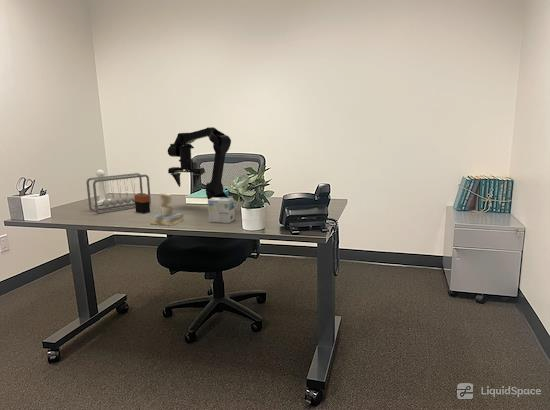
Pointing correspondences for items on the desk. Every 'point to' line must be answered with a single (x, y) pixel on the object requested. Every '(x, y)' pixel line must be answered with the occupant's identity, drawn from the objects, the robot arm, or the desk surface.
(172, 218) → the foundation plinth
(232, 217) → the light bulb box
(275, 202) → the desk surface
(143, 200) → the battery
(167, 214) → the birch snap block
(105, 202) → the newton's cradle
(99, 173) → the joystick
